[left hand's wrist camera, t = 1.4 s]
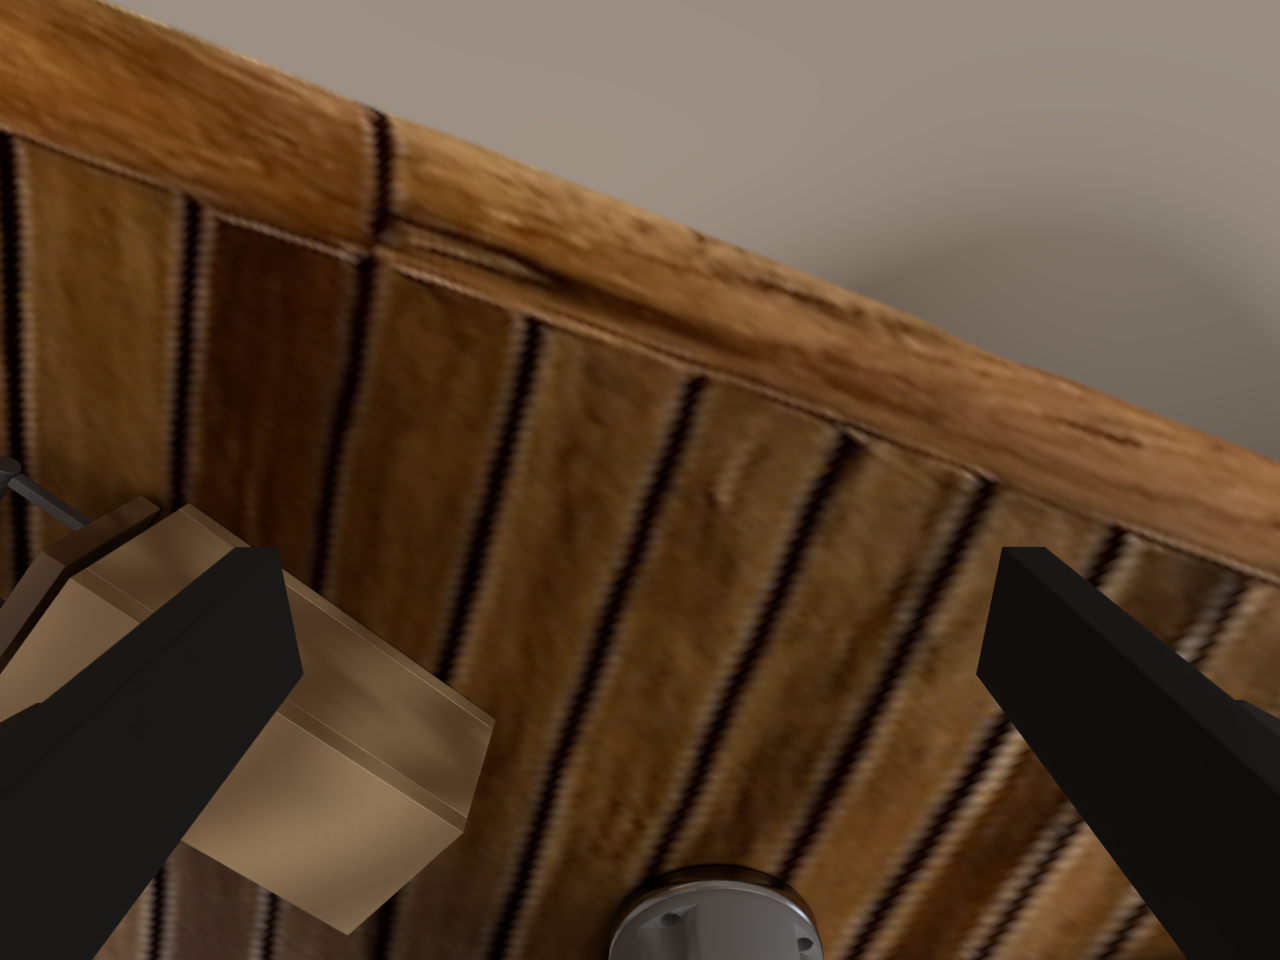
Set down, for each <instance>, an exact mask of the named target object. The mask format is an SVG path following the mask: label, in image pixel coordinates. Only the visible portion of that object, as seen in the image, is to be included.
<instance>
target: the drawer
mask: <svg viewBox="0 0 1280 960" xmlns="http://www.w3.org/2000/svg"><path fill="white" fill-rule="evenodd" d="M20 471H21V464H20V463H19V462H18V461H17V460H15V459H13V458H10V457H7V456H0V502H1V501H2V499H3V497H4V496H5V494H6V493H7V491H8V490H9V488H11V489H13V490H14V491H16V492H17V493H19V494H20V495H22V496H23V497H25V498H26V499H28V500H29V501H31V502H32V503H34V504H35V505H37V506H38V507H40V508H41V509H43V510H44V511H46V512H47V513H49V514H50V515H52V516H53V517H55V518H56V519H58V520H59V521H61V522H62V523H64V524H65V525H67V526H68V527H70V528H71V529H73V530H74V531H75V532H73V533H72V534H70V535H68V536H66V537H64V538H63V539H61V540H59V541H57V542H55V543H54V544H52V545H50V546H48V547H46V548H45V549H43V550H41V551H40V552H39V554H38V555H37V557H36V558H35V560H34V561H33V562H32V564H31V565H30V567H29V568H28V570H27V571H26V573H25V574H24V575H23V577H22V578H21V580H20V581H19V583H18V584H17V586H16V587H15V589H14V590H13V591H12V593H11V594H10V596H9V597H8V599H7V600H6V601H4V600H2V599H1V598H0V673H2V672H3V670H4V669H5V667H6V666H7V665H8V663H9V662H10V660H11V659H12V658H13V656H14V655H15V654H16V652H17V651H18V649H19V648H20V647H21V645H22V644H23V642H24V641H25V640H26V638H27V637H28V635H29V634H30V633H31V631H32V630H33V628H34V627H35V626H36V624H37V623H38V622H39V620H40V619H41V617H42V616H43V615H44V613H45V612H46V610H47V609H48V608H49V606H50V605H51V603H52V602H53V601H54V599H55V598H56V597H57V595H58V594H59V592H60V591H61V590H62V588H63V587H64V585H65V584H66V583H67V581H68V580H69V578H71V577H72V576H74V575H76V574H77V573H79V572H80V571H82V570H83V569H86V568H87V567H89V566H90V565H92V564H93V563H95V562H97V561H98V560H100V559H101V558H103V557H104V556H106V555H108V554H109V553H111V552H112V551H114V550H116V549H117V548H119V547H120V546H122V545H123V544H125V543H127V542H128V541H130V540H131V539H133V538H134V537H136V536H138V535H139V534H141V533H142V532H144V530H145V529H146V528H147V526H148V525H149V524H150V522H151V521H152V520H153V518H154V517H155V515H156V514H157V513H158V511H159V510H160V508H159V507H157V506H156V505H155V504H153V503H152V502H150V501H149V500H147V499H146V498H145V497H143V496H142V495H140V496H138V497H136V498H134V499H133V500H131V501H129V502H127V503H125V504H124V505H122V506H120V507H118V508H117V509H115V510H113V511H111V512H109V513H108V514H106V515H104V516H102V517H100V518H99V519H97V520H95V521H92V520H90V519H89V518H87V517H86V516H84V515H83V514H81V513H80V512H78V511H77V510H75V509H74V508H72V507H71V506H69V505H68V504H66V503H65V502H63V501H62V500H60V499H59V498H57V497H56V496H54V495H53V494H52V493H50V492H49V491H47V490H46V489H44V488H43V487H41V486H40V485H38V484H37V483H35V482H34V481H32V480H31V479H29V478H28V477H26V476H25V475H23V474H19V473H20ZM18 474H19V475H18Z"/></svg>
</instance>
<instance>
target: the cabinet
mask: <svg viewBox="0 0 1280 960" xmlns="http://www.w3.org/2000/svg"><path fill="white" fill-rule="evenodd" d="M235 547H251V546H250V545H248V544H247V543H245V542H244V541H242V540H241V539H240V538H238V537H237V536H235V535H234V534H233V533H231V532H230V531H228V530H227V529H225V528H224V527H223V526H221V525H220V524H218V523H217V522H216V521H214V520H213V519H211V518H210V517H209V516H207V515H206V514H204V513H203V512H201V511H200V510H199V509H197V508H196V507H194V506H193V505H192V504H190V503H188V504H186V505H185V506H183V507H182V508H180V509H179V510H177V511H176V512H174V513H172V514H171V515H169V516H168V517H166V518H164V519H163V520H161V521H160V522H158V523H157V524H155V525H153V526H152V527H150V528H149V529H147V530H146V531H144V532H142V533H141V534H139V535H138V536H136V537H134V538H133V539H131V540H130V541H128V542H127V543H125V544H123V545H122V546H120V547H119V548H117V549H116V550H114V551H112V552H111V553H109V554H108V555H106V556H104V557H103V558H101V559H100V560H98V561H97V562H95V563H93V564H92V565H90V566H89V567H87V568H86V569H83V570H82V571H80V572H79V573H77V574H76V575H74V576H72V577H71V578H69V580H68V581H67V583H66V584H65V585H64V587H63V588H62V590H61V591H60V592H59V594H58V595H57V597H56V598H55V599H54V601H53V602H52V603H51V605H50V606H49V608H48V609H47V610H46V612H45V613H44V615H43V616H42V617H41V619H40V620H39V622H38V623H37V624H36V626H35V627H34V628H33V630H32V631H31V633H30V634H29V635H28V637H27V638H26V640H25V641H24V642H23V644H22V645H21V647H20V648H19V649H18V651H17V652H16V654H15V655H14V656H13V658H12V659H11V660H10V662H9V663H8V665H7V666H6V667H5V669H4V670H3V672H2V673H1V674H0V722H2V721H4V720H6V719H7V718H9V717H11V716H13V715H15V714H17V713H19V712H21V711H22V710H24V709H26V708H28V707H30V706H32V705H34V704H35V703H42V702H43V701H45V700H46V699H47V698H48V697H50V696H51V695H52V694H53V693H55V692H56V691H57V690H58V689H60V688H61V687H62V686H63V685H65V684H66V683H67V682H68V681H69V680H71V679H72V678H73V677H74V676H76V675H77V674H78V673H79V672H81V671H82V670H83V669H84V668H86V667H87V666H88V665H89V664H91V663H92V662H93V661H94V660H96V659H97V658H98V657H99V656H101V655H102V654H103V653H104V652H105V651H107V650H108V649H109V648H110V647H112V646H113V645H114V644H115V643H117V642H118V641H119V640H120V639H122V638H123V637H124V636H125V635H127V634H128V633H129V632H130V631H132V630H133V629H134V628H135V627H137V626H138V625H139V624H140V623H141V622H143V621H144V620H145V619H146V618H148V617H149V616H150V615H151V614H153V613H154V612H155V611H156V610H158V609H159V608H160V607H161V606H163V605H164V604H165V603H166V602H168V601H169V600H170V599H171V598H173V597H174V596H175V595H176V594H177V593H179V592H180V591H181V590H182V589H184V588H185V587H186V586H187V585H189V584H190V583H191V582H192V581H194V580H195V579H196V578H197V577H199V576H200V575H201V574H202V573H204V572H205V571H206V570H207V569H209V568H210V567H211V566H212V565H213V564H215V563H216V562H217V561H218V560H220V559H221V558H222V557H223V556H225V555H226V554H227V553H228V552H230V551H231V550H232V549H233V548H235ZM282 571H283V576H284V581H285V586H286V590H287V595H288V600H289V605H290V610H291V615H292V619H293V624H294V629H295V634H296V639H297V644H298V649H299V653H300V658H301V663H302V668H303V673H304V675H303V676H302V677H301V679H300V680H299V681H298V683H297V684H296V685H295V687H294V688H293V690H292V691H291V692H290V694H289V695H288V696H287V698H286V699H285V700H284V702H283V703H282V704H281V706H280V707H279V708H278V710H277V711H276V712H275V714H274V715H273V716H272V718H271V719H270V721H269V722H268V723H267V725H266V726H265V727H264V729H263V730H262V731H261V733H260V734H259V735H258V737H257V738H256V739H255V741H254V742H253V743H252V745H251V746H250V748H249V749H248V750H247V752H246V753H245V754H244V756H243V757H242V758H241V760H240V761H239V762H238V764H237V765H236V766H235V768H234V769H233V770H232V772H231V773H230V774H229V776H228V777H227V779H226V780H225V781H224V783H223V784H222V785H221V787H220V788H219V789H218V791H217V792H216V793H215V795H214V796H213V797H212V799H211V800H210V801H209V803H208V804H207V805H206V807H205V808H204V810H203V811H202V812H201V814H200V815H199V816H198V818H197V819H196V820H195V822H194V823H193V824H192V826H191V827H190V828H189V830H188V831H187V832H186V834H185V835H184V837H183V838H182V839H181V841H183V842H185V843H187V844H188V845H190V846H192V847H194V848H195V849H197V850H199V851H201V852H202V853H204V854H206V855H208V856H209V857H211V858H213V859H215V860H216V861H218V862H220V863H222V864H223V865H225V866H227V867H229V868H230V869H232V870H234V871H236V872H237V873H239V874H241V875H243V876H244V877H246V878H248V879H250V880H251V881H253V882H255V883H257V884H258V885H260V886H262V887H264V888H265V889H267V890H269V891H271V892H272V893H274V894H276V895H278V896H279V897H281V898H283V899H285V900H286V901H288V902H290V903H292V904H293V905H295V906H297V907H299V908H300V909H302V910H304V911H306V912H307V913H309V914H311V915H313V916H314V917H316V918H318V919H320V920H321V921H323V922H325V923H327V924H328V925H330V926H332V927H334V928H335V929H337V930H339V931H341V932H342V933H344V934H346V935H349V934H350V933H351V932H352V931H353V930H354V929H355V928H357V927H358V926H359V925H360V924H361V923H362V922H363V921H364V920H366V919H367V918H368V917H369V916H370V915H371V914H372V913H373V912H375V911H376V910H377V909H378V908H379V907H380V906H381V905H382V904H384V903H385V902H386V901H387V900H388V899H389V898H390V897H391V896H392V895H394V894H395V893H396V892H397V891H398V890H399V889H400V888H401V887H403V886H404V885H405V884H406V883H407V882H408V881H409V880H410V879H412V878H413V877H414V876H415V875H416V874H417V873H418V872H419V871H421V870H422V869H423V868H424V867H425V866H426V865H427V864H428V863H430V862H431V861H432V860H433V859H434V858H435V857H436V856H437V855H439V854H440V853H441V852H442V851H443V850H444V849H445V848H446V847H448V846H449V845H450V844H451V843H452V842H453V841H454V840H455V839H457V838H458V837H459V836H460V835H461V834H462V833H463V831H464V828H465V824H466V821H467V816H468V813H469V809H470V806H471V803H472V799H473V796H474V792H475V789H476V785H477V782H478V778H479V775H480V772H481V768H482V765H483V761H484V758H485V754H486V751H487V747H488V744H489V741H490V737H491V734H492V730H493V727H494V724H495V719H494V718H493V717H491V716H490V715H489V714H487V713H486V712H484V711H483V710H481V709H480V708H479V707H477V706H476V705H474V704H473V703H472V702H470V701H469V700H467V699H466V698H465V697H463V696H462V695H460V694H459V693H457V692H456V691H455V690H453V689H452V688H450V687H449V686H448V685H446V684H445V683H443V682H442V681H440V680H439V679H438V678H436V677H435V676H433V675H432V674H431V673H429V672H428V671H426V670H425V669H423V668H422V667H421V666H419V665H418V664H416V663H415V662H414V661H412V660H411V659H409V658H408V657H407V656H405V655H404V654H402V653H401V652H399V651H398V650H397V649H395V648H394V647H392V646H391V645H390V644H388V643H387V642H385V641H384V640H382V639H381V638H380V637H378V636H377V635H375V634H374V633H373V632H371V631H370V630H368V629H367V628H366V627H364V626H363V625H361V624H360V623H358V622H357V621H356V620H354V619H353V618H351V617H350V616H349V615H347V614H346V613H344V612H343V611H341V610H340V609H339V608H337V607H336V606H334V605H333V604H332V603H330V602H329V601H327V600H326V599H324V598H323V597H322V596H320V595H319V594H317V593H316V592H315V591H313V590H312V589H310V588H309V587H308V586H306V585H305V584H303V583H302V582H300V581H299V580H298V579H296V578H295V577H293V576H292V575H291V574H289V573H288V572H286V571H285V570H283V569H282Z"/></svg>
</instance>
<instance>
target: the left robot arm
mask: <svg viewBox="0 0 1280 960" xmlns="http://www.w3.org/2000/svg"><path fill="white" fill-rule="evenodd" d="M303 675H304V673H303V668H302V663H301V658H300V653H299V649H298V644H297V639H296V634H295V629H294V624H293V619H292V615H291V610H290V605H289V600H288V595H287V590H286V586H285V581H284V576H283V571H282V566H281V561H280V556H279V552H278V547H235V548H233V549H232V550H231V551H230V552H228V553H227V554H226V555H225V556H223V557H222V558H221V559H220V560H218V561H217V562H216V563H215V564H213V565H212V566H211V567H210V568H209V569H207V570H206V571H205V572H204V573H202V574H201V575H200V576H199V577H197V578H196V579H195V580H194V581H192V582H191V583H190V584H189V585H187V586H186V587H185V588H184V589H182V590H181V591H180V592H179V593H177V594H176V595H175V596H174V597H173V598H171V599H170V600H169V601H168V602H166V603H165V604H164V605H163V606H161V607H160V608H159V609H158V610H156V611H155V612H154V613H153V614H151V615H150V616H149V617H148V618H146V619H145V620H144V621H143V622H141V623H140V624H139V625H138V626H137V627H135V628H134V629H133V630H132V631H130V632H129V633H128V634H127V635H125V636H124V637H123V638H122V639H120V640H119V641H118V642H117V643H115V644H114V645H113V646H112V647H110V648H109V649H108V650H107V651H105V652H104V653H103V654H102V655H101V656H99V657H98V658H97V659H96V660H94V661H93V662H92V663H91V664H89V665H88V666H87V667H86V668H84V669H83V670H82V671H81V672H79V673H78V674H77V675H76V676H74V677H73V678H72V679H71V680H69V681H68V682H67V683H66V684H65V685H63V686H62V687H61V688H60V689H58V690H57V691H56V692H55V693H53V694H52V695H51V696H50V697H48V698H47V699H46V700H45V701H43V702H42V703H35V704H34V705H32V706H30V707H28V708H26V709H24V710H22V711H21V712H19V713H17V714H15V715H13V716H11V717H9V718H7V719H6V720H4V721H2V722H0V960H92V959H93V958H94V957H95V955H96V954H97V952H98V951H99V950H100V948H101V947H102V946H103V944H104V943H105V942H106V940H107V939H108V938H109V936H110V935H111V934H112V932H113V931H114V930H115V928H116V927H117V926H118V924H119V923H120V921H121V920H122V919H123V917H124V916H125V915H126V913H127V912H128V911H129V909H130V908H131V907H132V905H133V904H134V903H135V901H136V900H137V899H138V897H139V896H140V894H141V893H142V892H143V890H144V889H145V888H146V886H147V885H148V884H149V882H150V881H151V880H152V878H153V877H154V876H155V874H156V873H157V872H158V870H159V869H160V868H161V866H162V865H163V863H164V862H165V861H166V859H167V858H168V857H169V855H170V854H171V853H172V851H173V850H174V849H175V847H176V846H177V845H178V843H179V842H180V841H181V839H182V838H183V837H184V835H185V834H186V832H187V831H188V830H189V828H190V827H191V826H192V824H193V823H194V822H195V820H196V819H197V818H198V816H199V815H200V814H201V812H202V811H203V810H204V808H205V807H206V805H207V804H208V803H209V801H210V800H211V799H212V797H213V796H214V795H215V793H216V792H217V791H218V789H219V788H220V787H221V785H222V784H223V783H224V781H225V780H226V779H227V777H228V776H229V774H230V773H231V772H232V770H233V769H234V768H235V766H236V765H237V764H238V762H239V761H240V760H241V758H242V757H243V756H244V754H245V753H246V752H247V750H248V749H249V748H250V746H251V745H252V743H253V742H254V741H255V739H256V738H257V737H258V735H259V734H260V733H261V731H262V730H263V729H264V727H265V726H266V725H267V723H268V722H269V721H270V719H271V718H272V716H273V715H274V714H275V712H276V711H277V710H278V708H279V707H280V706H281V704H282V703H283V702H284V700H285V699H286V698H287V696H288V695H289V694H290V692H291V691H292V690H293V688H294V687H295V685H296V684H297V683H298V681H299V680H300V679H301V677H302V676H303ZM976 675H977V676H978V677H979V679H980V680H981V681H982V683H983V684H984V685H985V687H986V688H987V690H988V691H989V692H990V694H991V695H992V696H993V698H994V699H995V700H996V702H997V703H998V704H999V706H1000V707H1001V708H1002V710H1003V711H1004V712H1005V714H1006V715H1007V716H1008V718H1009V719H1010V721H1011V722H1012V723H1013V725H1014V726H1015V727H1016V729H1017V730H1018V731H1019V733H1020V734H1021V735H1022V737H1023V738H1024V739H1025V741H1026V742H1027V743H1028V745H1029V746H1030V748H1031V749H1032V750H1033V752H1034V753H1035V754H1036V756H1037V757H1038V758H1039V760H1040V761H1041V762H1042V764H1043V765H1044V766H1045V768H1046V769H1047V770H1048V772H1049V773H1050V774H1051V776H1052V777H1053V779H1054V780H1055V781H1056V783H1057V784H1058V785H1059V787H1060V788H1061V789H1062V791H1063V792H1064V793H1065V795H1066V796H1067V797H1068V799H1069V800H1070V801H1071V803H1072V804H1073V805H1074V807H1075V808H1076V810H1077V811H1078V812H1079V814H1080V815H1081V816H1082V818H1083V819H1084V820H1085V822H1086V823H1087V824H1088V826H1089V827H1090V828H1091V830H1092V831H1093V832H1094V834H1095V835H1096V837H1097V838H1098V839H1099V841H1100V842H1101V843H1102V845H1103V846H1104V847H1105V849H1106V850H1107V851H1108V853H1109V854H1110V855H1111V857H1112V858H1113V859H1114V861H1115V862H1116V863H1117V865H1118V866H1119V868H1120V869H1121V870H1122V872H1123V873H1124V874H1125V876H1126V877H1127V878H1128V880H1129V881H1130V882H1131V884H1132V885H1133V886H1134V888H1135V889H1136V890H1137V892H1138V893H1139V894H1140V896H1141V897H1142V899H1143V900H1144V901H1145V903H1146V904H1147V905H1148V907H1149V908H1150V909H1151V911H1152V912H1153V913H1154V915H1155V916H1156V917H1157V919H1158V920H1159V921H1160V923H1161V924H1162V926H1163V927H1164V928H1165V930H1166V931H1167V932H1168V934H1169V935H1170V936H1171V938H1172V939H1173V940H1174V942H1175V943H1176V944H1177V946H1178V947H1179V948H1180V950H1181V951H1182V952H1183V954H1184V955H1185V957H1186V958H1187V959H1188V960H1280V719H1278V718H1276V717H1274V716H1273V715H1271V714H1269V713H1267V712H1265V711H1263V710H1261V709H1259V708H1258V707H1256V706H1254V705H1252V704H1250V703H1248V702H1246V701H1244V700H1234V699H1233V698H1232V697H1230V696H1229V695H1228V694H1227V693H1225V692H1224V691H1223V690H1222V689H1220V688H1219V687H1218V686H1217V685H1215V684H1214V683H1213V682H1212V681H1211V680H1209V679H1208V678H1207V677H1206V676H1204V675H1203V674H1202V673H1201V672H1199V671H1198V670H1197V669H1196V668H1194V667H1193V666H1192V665H1191V664H1189V663H1188V662H1187V661H1186V660H1184V659H1183V658H1182V657H1181V656H1179V655H1178V654H1177V653H1176V652H1175V651H1173V650H1172V649H1171V648H1170V647H1168V646H1167V645H1166V644H1165V643H1163V642H1162V641H1161V640H1160V639H1158V638H1157V637H1156V636H1155V635H1153V634H1152V633H1151V632H1150V631H1148V630H1147V629H1146V628H1145V627H1143V626H1142V625H1141V624H1140V623H1139V622H1137V621H1136V620H1135V619H1134V618H1132V617H1131V616H1130V615H1129V614H1127V613H1126V612H1125V611H1124V610H1122V609H1121V608H1120V607H1119V606H1117V605H1116V604H1115V603H1114V602H1112V601H1111V600H1110V599H1109V598H1107V597H1106V596H1105V595H1104V594H1103V593H1101V592H1100V591H1099V590H1098V589H1096V588H1095V587H1094V586H1093V585H1091V584H1090V583H1089V582H1088V581H1086V580H1085V579H1084V578H1083V577H1081V576H1080V575H1079V574H1078V573H1076V572H1075V571H1074V570H1073V569H1071V568H1070V567H1069V566H1068V565H1067V564H1065V563H1064V562H1063V561H1062V560H1060V559H1059V558H1058V557H1057V556H1055V555H1054V554H1053V553H1052V552H1050V551H1049V550H1048V549H1047V548H1045V547H1002V552H1001V556H1000V561H999V566H998V571H997V576H996V581H995V585H994V590H993V595H992V600H991V605H990V610H989V615H988V619H987V624H986V629H985V634H984V639H983V644H982V649H981V653H980V658H979V663H978V668H977V673H976ZM609 960H824V955H823V947H822V943H821V939H820V935H819V931H818V927H817V924H816V920H815V917H814V915H813V913H812V911H811V909H810V908H809V906H808V905H807V903H806V902H805V901H804V900H803V898H802V897H801V896H800V895H799V894H798V893H796V892H795V891H794V890H793V889H791V888H790V887H789V886H787V885H785V884H784V883H782V882H780V881H779V880H777V879H775V878H772V877H770V876H768V875H765V874H762V873H759V872H756V871H752V870H747V869H742V868H735V867H714V866H713V867H700V868H693V869H688V870H683V871H679V872H676V873H672V874H670V875H667V876H664V877H662V878H660V879H657V880H655V881H653V882H651V883H650V884H648V885H646V886H645V887H643V888H642V889H640V890H639V891H637V892H636V893H635V894H634V895H633V896H632V897H630V898H629V899H628V901H627V902H626V903H625V904H624V905H623V906H622V908H621V909H620V910H619V912H618V914H617V915H616V917H615V919H614V922H613V924H612V928H611V932H610V941H609Z"/></svg>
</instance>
